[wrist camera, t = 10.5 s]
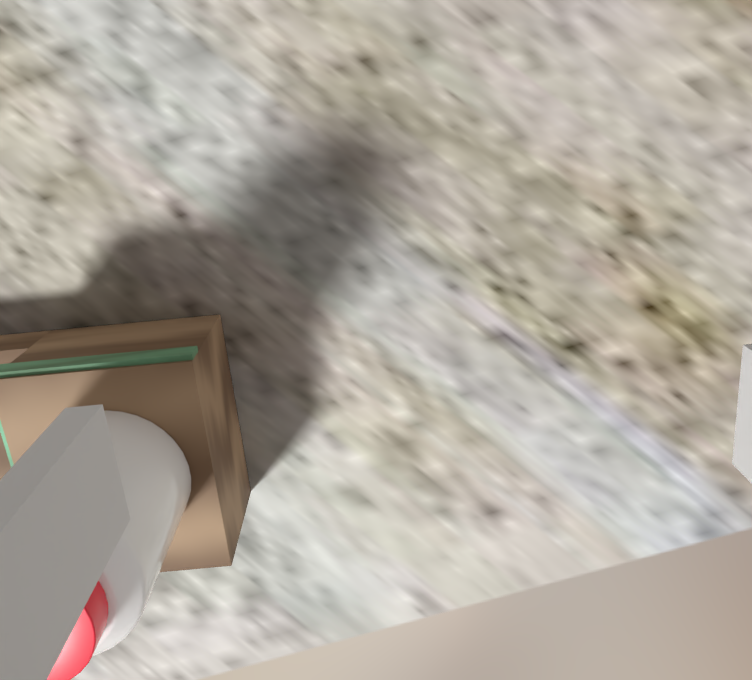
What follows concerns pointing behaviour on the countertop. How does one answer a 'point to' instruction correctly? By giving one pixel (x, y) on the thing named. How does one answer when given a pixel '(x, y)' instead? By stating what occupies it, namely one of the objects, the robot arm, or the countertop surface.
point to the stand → (141, 410)
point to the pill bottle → (131, 539)
